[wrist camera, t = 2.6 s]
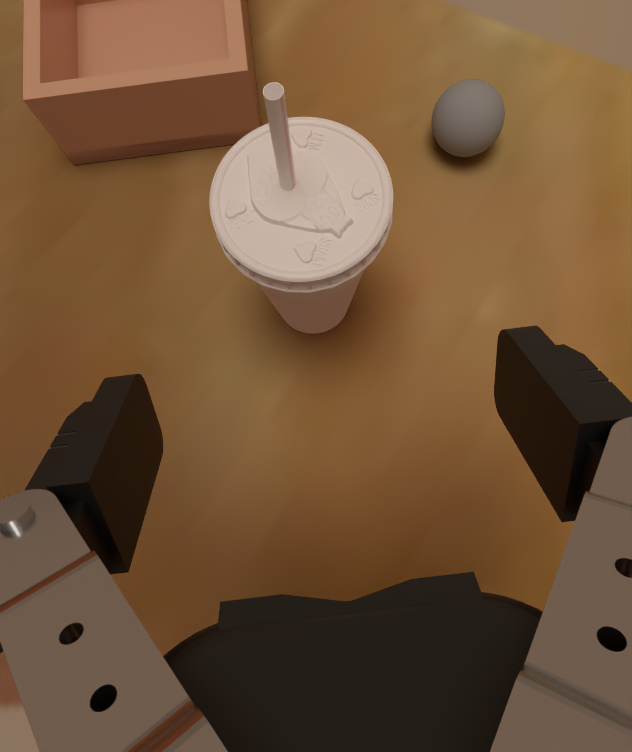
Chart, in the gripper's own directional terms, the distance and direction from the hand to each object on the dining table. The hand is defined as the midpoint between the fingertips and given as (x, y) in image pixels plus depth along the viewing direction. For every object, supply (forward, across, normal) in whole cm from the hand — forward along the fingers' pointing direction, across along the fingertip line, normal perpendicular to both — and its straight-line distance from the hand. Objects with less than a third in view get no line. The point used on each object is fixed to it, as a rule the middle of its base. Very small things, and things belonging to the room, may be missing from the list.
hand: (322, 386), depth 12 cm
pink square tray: (+26, +7, -6) cm, 27 cm away
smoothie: (+15, 0, +5) cm, 16 cm away
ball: (+21, -9, -1) cm, 23 cm away
